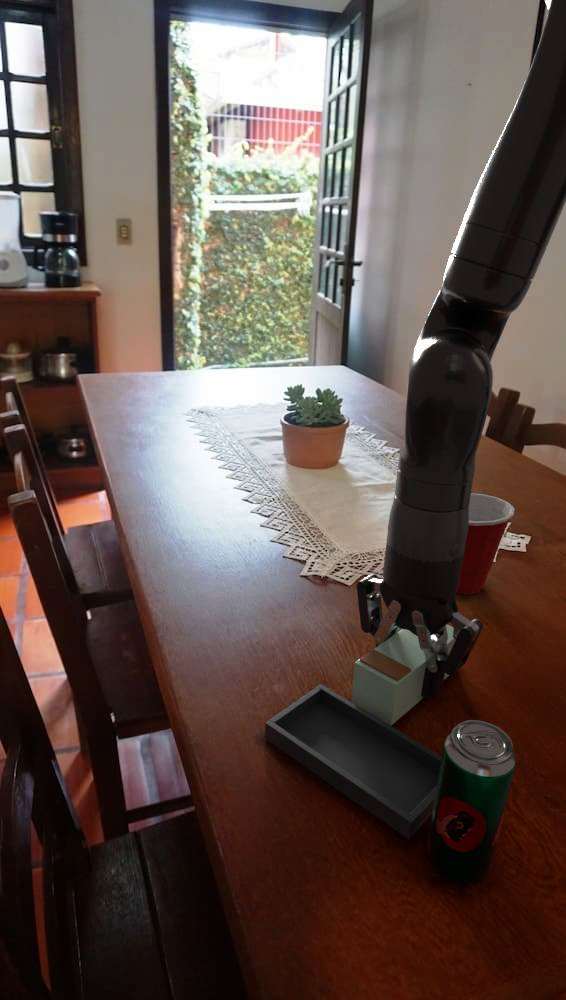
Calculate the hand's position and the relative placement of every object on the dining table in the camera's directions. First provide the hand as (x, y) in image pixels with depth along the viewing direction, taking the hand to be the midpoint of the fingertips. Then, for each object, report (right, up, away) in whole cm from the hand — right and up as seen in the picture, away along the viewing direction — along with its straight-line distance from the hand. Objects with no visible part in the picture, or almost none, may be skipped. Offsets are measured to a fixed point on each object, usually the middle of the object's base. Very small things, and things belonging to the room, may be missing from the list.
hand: (406, 681), depth 73 cm
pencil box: (0, 0, 0) cm, 0 cm away
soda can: (+1, -9, -20) cm, 21 cm away
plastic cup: (+11, +8, +21) cm, 25 cm away
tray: (-6, -5, -10) cm, 13 cm away
